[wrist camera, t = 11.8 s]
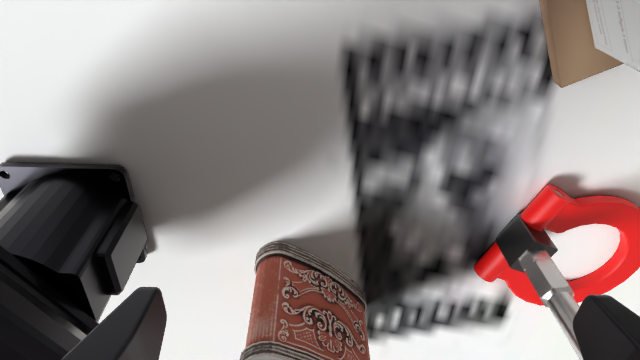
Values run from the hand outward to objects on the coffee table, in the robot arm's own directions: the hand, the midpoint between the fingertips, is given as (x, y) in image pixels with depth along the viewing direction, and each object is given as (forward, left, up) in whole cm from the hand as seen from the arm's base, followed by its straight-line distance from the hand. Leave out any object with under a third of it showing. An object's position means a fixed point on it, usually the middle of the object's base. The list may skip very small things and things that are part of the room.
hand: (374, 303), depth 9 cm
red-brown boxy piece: (-1, -13, -13) cm, 19 cm away
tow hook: (+14, -10, -13) cm, 22 cm away
